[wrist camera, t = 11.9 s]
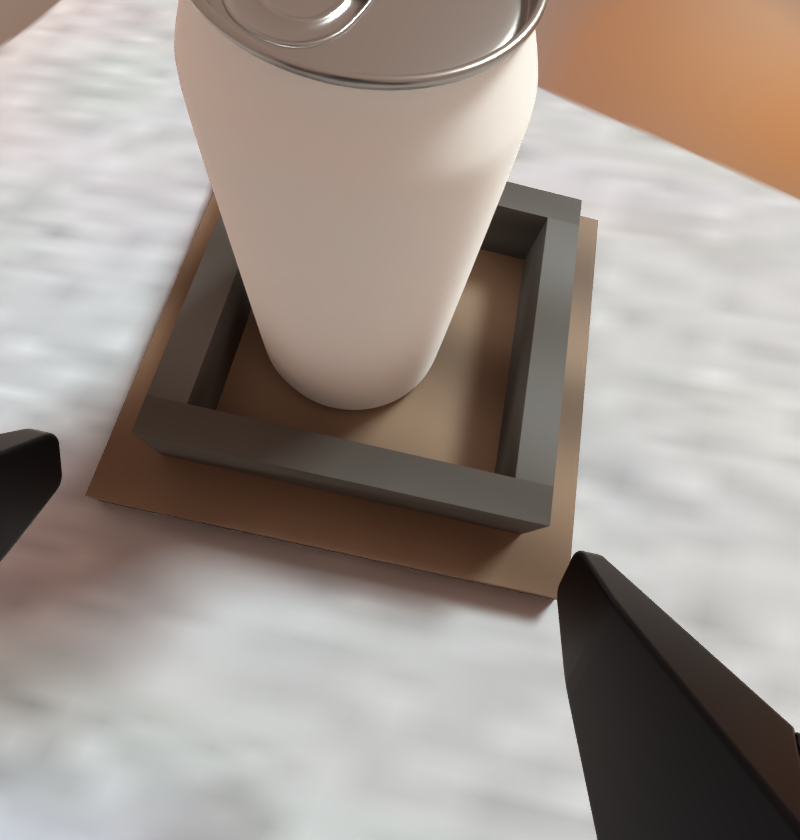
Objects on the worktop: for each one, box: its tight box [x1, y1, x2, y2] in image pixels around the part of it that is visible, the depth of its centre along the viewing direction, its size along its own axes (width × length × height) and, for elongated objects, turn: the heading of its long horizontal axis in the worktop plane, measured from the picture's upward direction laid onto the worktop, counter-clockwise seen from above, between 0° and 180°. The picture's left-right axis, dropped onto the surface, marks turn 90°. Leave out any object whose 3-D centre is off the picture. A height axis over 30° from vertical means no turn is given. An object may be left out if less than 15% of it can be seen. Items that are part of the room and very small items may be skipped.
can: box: [174, 0, 547, 410], centre depth 13 cm, size 6×6×12 cm
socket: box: [85, 182, 598, 600], centre depth 18 cm, size 16×16×4 cm
